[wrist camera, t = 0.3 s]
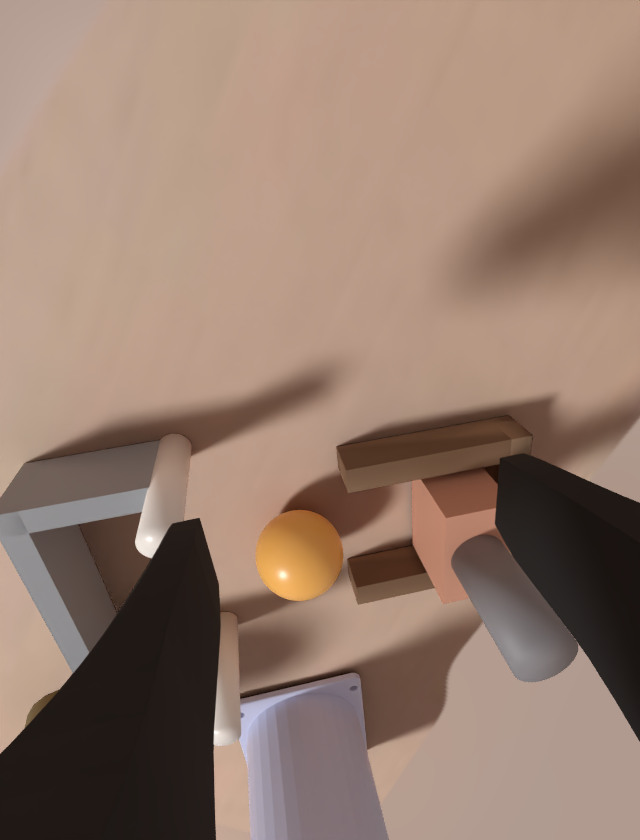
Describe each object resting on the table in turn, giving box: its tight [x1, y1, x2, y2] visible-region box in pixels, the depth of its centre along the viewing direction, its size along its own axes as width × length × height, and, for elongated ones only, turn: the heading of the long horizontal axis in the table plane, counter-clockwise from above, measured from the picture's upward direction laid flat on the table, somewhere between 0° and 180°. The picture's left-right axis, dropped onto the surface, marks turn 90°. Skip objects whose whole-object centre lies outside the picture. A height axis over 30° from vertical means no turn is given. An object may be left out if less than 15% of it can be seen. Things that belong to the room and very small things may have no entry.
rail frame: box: [336, 416, 533, 605], centre depth 24 cm, size 8×8×2 cm
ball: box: [256, 510, 343, 601], centre depth 22 cm, size 4×4×4 cm
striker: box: [412, 467, 578, 682], centre depth 20 cm, size 5×3×9 cm, turn 5°
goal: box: [0, 434, 241, 746], centre depth 20 cm, size 12×7×6 cm, turn 5°
